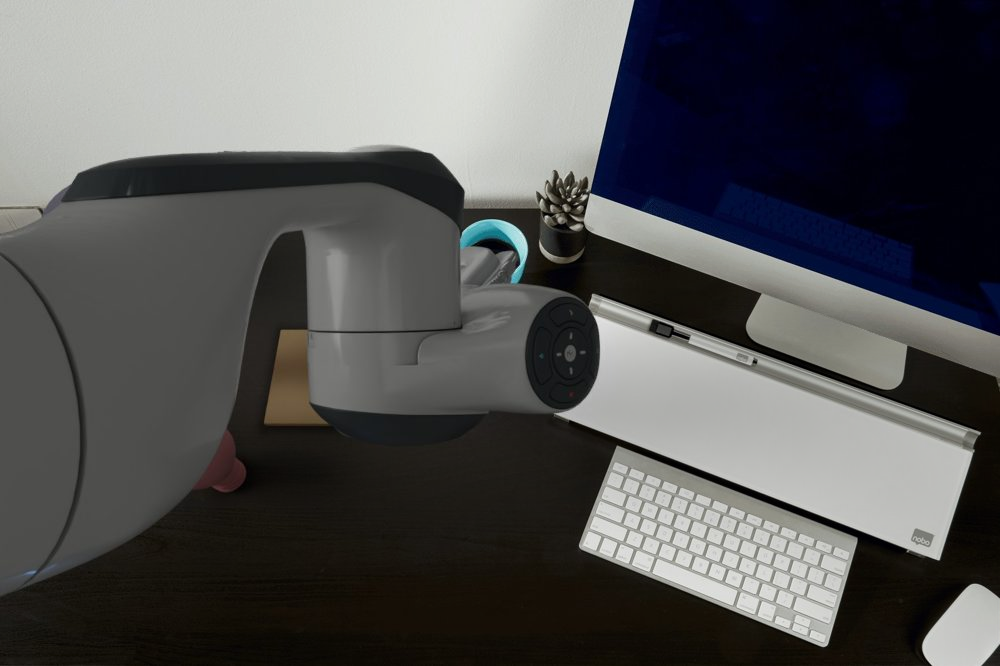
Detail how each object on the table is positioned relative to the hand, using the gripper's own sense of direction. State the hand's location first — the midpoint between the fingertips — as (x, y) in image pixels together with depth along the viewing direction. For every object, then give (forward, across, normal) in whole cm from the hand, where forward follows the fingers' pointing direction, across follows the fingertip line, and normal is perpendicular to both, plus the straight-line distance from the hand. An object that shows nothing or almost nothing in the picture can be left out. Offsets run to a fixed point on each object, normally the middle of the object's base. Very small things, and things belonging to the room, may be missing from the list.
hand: (381, 333), depth 69 cm
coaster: (+18, +4, +4) cm, 19 cm away
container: (+38, +8, -15) cm, 41 cm away
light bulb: (+19, +19, +4) cm, 27 cm away
